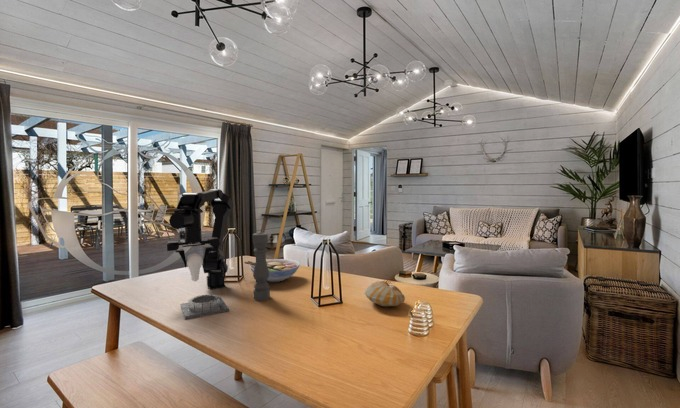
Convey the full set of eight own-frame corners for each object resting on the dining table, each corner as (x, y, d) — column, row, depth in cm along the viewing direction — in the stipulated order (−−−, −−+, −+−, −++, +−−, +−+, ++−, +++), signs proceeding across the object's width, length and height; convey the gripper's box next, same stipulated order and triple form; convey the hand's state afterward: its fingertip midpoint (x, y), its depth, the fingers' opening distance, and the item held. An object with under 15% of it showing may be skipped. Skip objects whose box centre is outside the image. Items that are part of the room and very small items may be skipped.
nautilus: (376, 292, 139) (413, 299, 133) (356, 307, 120) (399, 315, 113) (377, 273, 139) (414, 279, 133) (358, 284, 119) (400, 291, 113)
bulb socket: (220, 299, 132) (220, 290, 132) (228, 310, 120) (228, 301, 120) (180, 306, 125) (180, 297, 125) (185, 319, 113) (184, 309, 113)
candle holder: (250, 299, 131) (248, 234, 130) (260, 294, 137) (258, 232, 135) (264, 301, 129) (262, 235, 127) (273, 296, 135) (271, 233, 133)
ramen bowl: (312, 279, 158) (312, 261, 157) (272, 291, 141) (271, 272, 140) (278, 270, 174) (277, 254, 174) (238, 280, 157) (237, 263, 157)
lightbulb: (187, 284, 129) (186, 255, 128) (186, 280, 134) (185, 252, 133) (204, 282, 131) (203, 253, 131) (202, 278, 137) (201, 251, 136)
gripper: (214, 222, 143) (216, 259, 144) (164, 225, 134) (166, 265, 135) (220, 224, 133) (221, 264, 134) (166, 228, 124) (168, 271, 125)
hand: (194, 265), depth 132 cm, fingers closed on lightbulb, 6 cm apart
